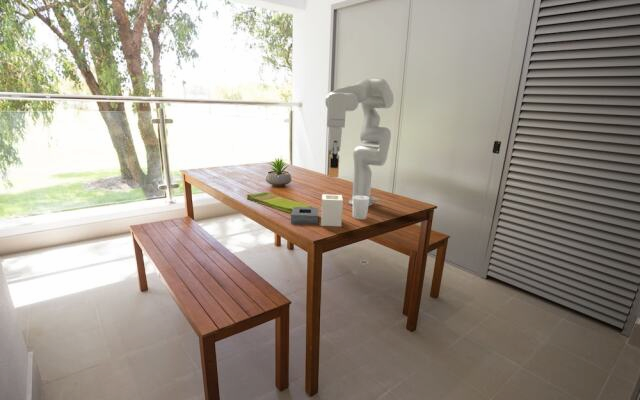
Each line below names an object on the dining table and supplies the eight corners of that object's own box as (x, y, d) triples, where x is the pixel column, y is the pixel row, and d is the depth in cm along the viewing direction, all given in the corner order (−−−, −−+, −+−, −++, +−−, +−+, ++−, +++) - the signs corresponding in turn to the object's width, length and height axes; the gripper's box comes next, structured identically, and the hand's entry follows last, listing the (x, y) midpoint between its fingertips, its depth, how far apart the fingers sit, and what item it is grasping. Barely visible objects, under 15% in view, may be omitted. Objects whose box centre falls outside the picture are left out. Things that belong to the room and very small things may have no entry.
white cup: (366, 214, 162) (367, 195, 159) (369, 220, 154) (370, 200, 151) (350, 214, 161) (351, 195, 159) (352, 219, 154) (353, 199, 151)
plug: (337, 175, 145) (338, 155, 143) (338, 177, 141) (339, 156, 139) (328, 174, 145) (329, 154, 143) (328, 176, 141) (329, 156, 139)
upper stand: (340, 219, 154) (341, 195, 150) (341, 226, 145) (342, 200, 142) (321, 218, 154) (322, 194, 150) (321, 225, 145) (322, 199, 142)
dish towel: (267, 195, 192) (267, 189, 191) (312, 208, 170) (313, 203, 169) (246, 200, 180) (245, 194, 180) (291, 215, 158) (291, 209, 157)
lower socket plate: (318, 215, 158) (318, 207, 157) (317, 224, 146) (318, 215, 145) (293, 214, 158) (293, 206, 157) (290, 223, 146) (291, 214, 145)
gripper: (326, 122, 145) (325, 163, 150) (327, 124, 129) (325, 170, 134) (343, 122, 145) (341, 163, 150) (346, 125, 129) (343, 170, 134)
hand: (333, 166), depth 142 cm, fingers closed on plug, 4 cm apart
